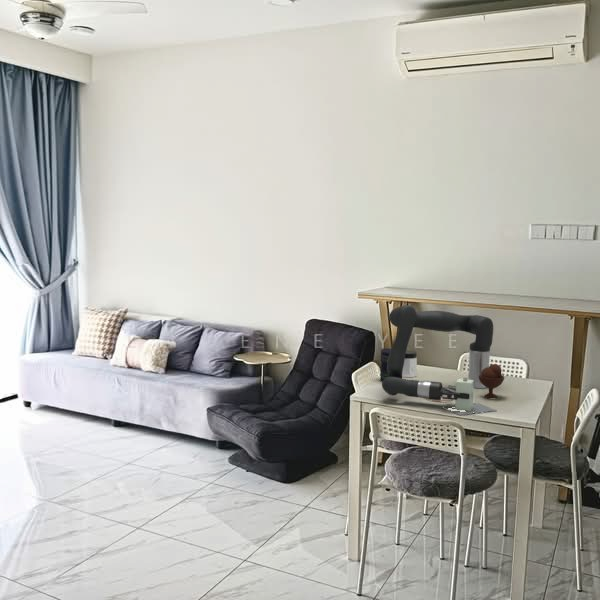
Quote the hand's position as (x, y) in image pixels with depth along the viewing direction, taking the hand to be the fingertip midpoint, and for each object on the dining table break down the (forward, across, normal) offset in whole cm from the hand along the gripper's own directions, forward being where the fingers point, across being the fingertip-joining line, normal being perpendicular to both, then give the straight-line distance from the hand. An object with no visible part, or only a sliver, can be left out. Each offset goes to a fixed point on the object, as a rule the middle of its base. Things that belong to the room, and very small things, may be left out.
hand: (470, 394), depth 277 cm
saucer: (-15, +13, +6) cm, 21 cm away
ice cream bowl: (+5, +25, +7) cm, 26 cm away
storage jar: (-43, +35, +7) cm, 55 cm away
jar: (-38, +50, +7) cm, 63 cm away
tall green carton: (-2, 0, +6) cm, 7 cm away
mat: (0, +1, +6) cm, 7 cm away
